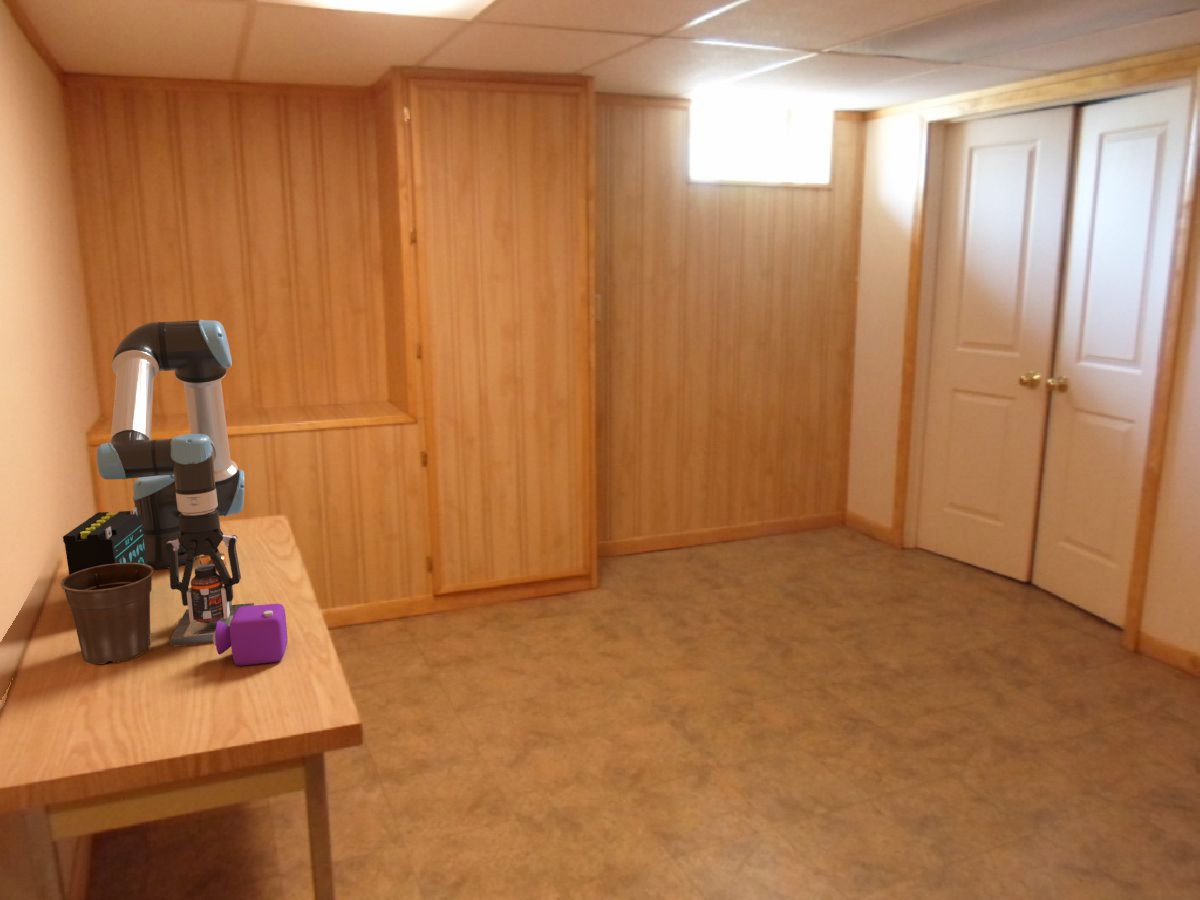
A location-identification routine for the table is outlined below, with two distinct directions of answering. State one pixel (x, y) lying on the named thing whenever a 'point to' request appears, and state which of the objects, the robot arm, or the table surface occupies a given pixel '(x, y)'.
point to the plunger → (208, 560)
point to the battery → (106, 541)
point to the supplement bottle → (207, 594)
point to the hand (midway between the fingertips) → (210, 617)
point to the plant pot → (111, 610)
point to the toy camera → (254, 634)
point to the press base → (199, 628)
